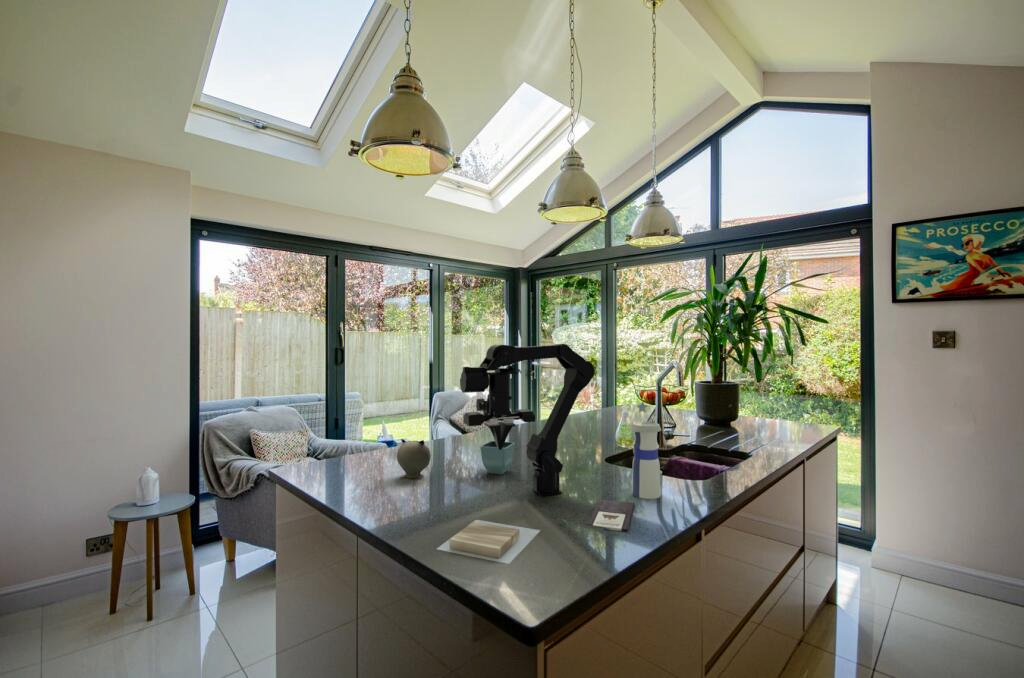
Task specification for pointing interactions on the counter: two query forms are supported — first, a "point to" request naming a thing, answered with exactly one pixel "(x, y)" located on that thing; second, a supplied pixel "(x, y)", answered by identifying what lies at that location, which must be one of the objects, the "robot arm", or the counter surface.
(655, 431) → the water bottle
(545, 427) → the robot arm
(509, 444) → the flower pot
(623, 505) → the chocolate bar
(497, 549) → the birch tile
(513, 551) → the light gray mat
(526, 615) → the counter surface
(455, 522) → the counter surface
